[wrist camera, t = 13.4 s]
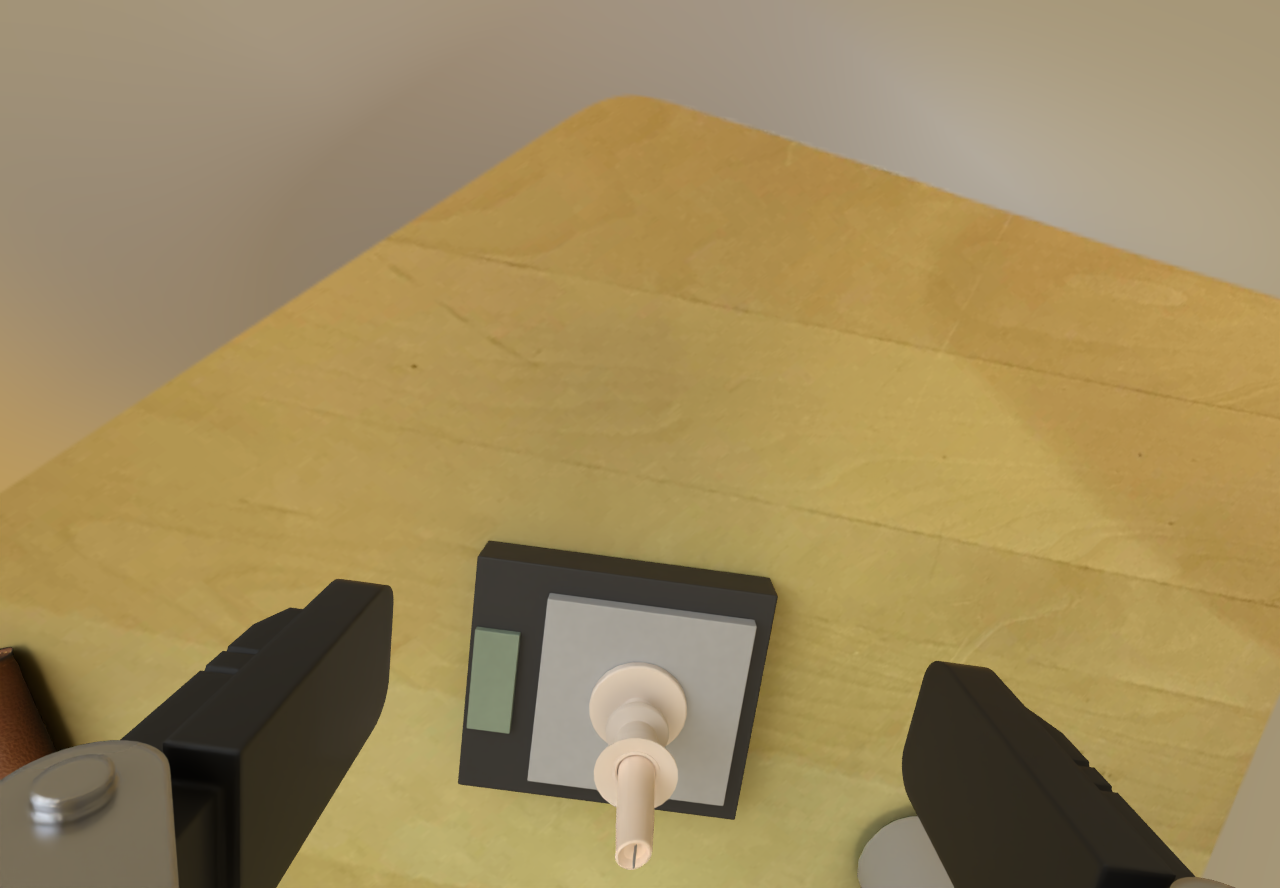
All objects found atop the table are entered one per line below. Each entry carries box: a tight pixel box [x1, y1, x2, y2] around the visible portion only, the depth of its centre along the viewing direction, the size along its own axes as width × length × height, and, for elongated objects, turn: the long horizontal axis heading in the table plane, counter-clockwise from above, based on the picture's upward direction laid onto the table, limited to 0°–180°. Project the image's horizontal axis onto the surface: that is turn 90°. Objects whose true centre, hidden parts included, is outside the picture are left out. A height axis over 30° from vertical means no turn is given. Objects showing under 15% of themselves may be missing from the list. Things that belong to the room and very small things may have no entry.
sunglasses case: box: [0, 647, 56, 780], centre depth 39 cm, size 18×7×7 cm
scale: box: [458, 541, 778, 820], centre depth 37 cm, size 16×14×3 cm
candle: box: [589, 662, 687, 870], centre depth 30 cm, size 5×5×10 cm
